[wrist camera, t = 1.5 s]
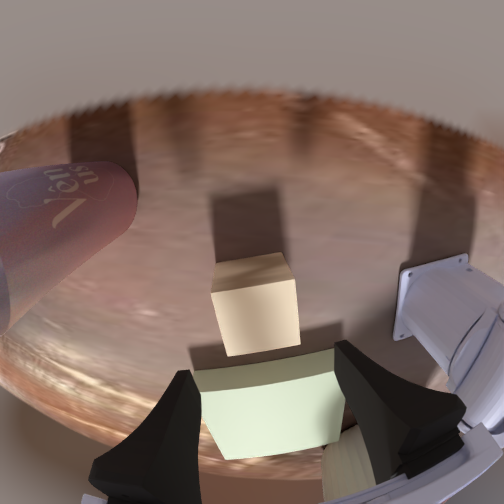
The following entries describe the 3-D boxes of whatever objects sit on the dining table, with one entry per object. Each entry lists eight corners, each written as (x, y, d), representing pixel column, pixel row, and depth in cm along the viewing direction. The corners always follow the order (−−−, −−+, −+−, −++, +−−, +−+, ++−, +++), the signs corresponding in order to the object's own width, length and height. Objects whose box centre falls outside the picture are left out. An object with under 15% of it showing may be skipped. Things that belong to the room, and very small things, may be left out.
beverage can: (64, 197, 18) (-84, 261, 4) (109, 144, 17) (-65, 149, 3) (106, 251, 20) (-19, 372, 5) (156, 203, 19) (8, 305, 4)
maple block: (281, 251, 21) (294, 279, 16) (287, 307, 22) (300, 344, 17) (215, 262, 20) (210, 293, 16) (228, 317, 22) (227, 356, 17)
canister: (375, 386, 27) (445, 528, 7) (429, 409, 31) (481, 498, 11) (278, 456, 31) (296, 576, 11) (350, 466, 35) (378, 552, 15)
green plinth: (338, 346, 24) (348, 366, 21) (332, 423, 28) (338, 440, 26) (194, 370, 24) (190, 393, 21) (225, 441, 28) (225, 459, 26)
